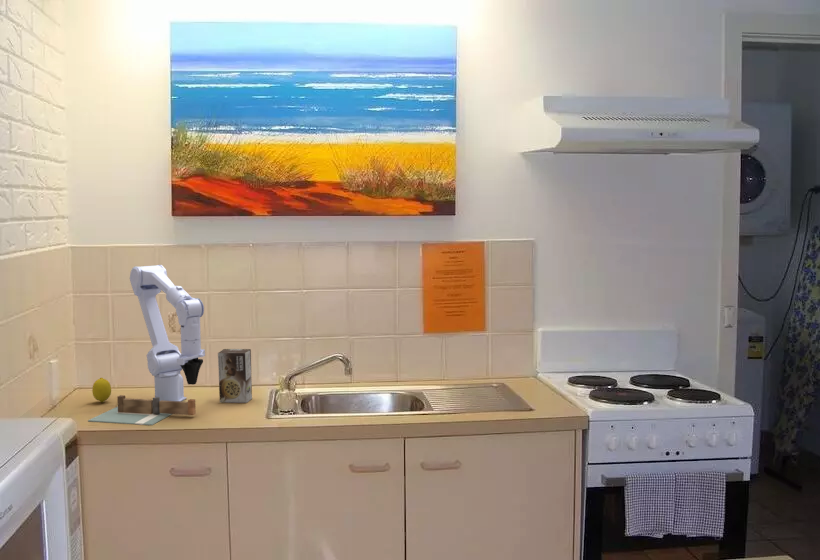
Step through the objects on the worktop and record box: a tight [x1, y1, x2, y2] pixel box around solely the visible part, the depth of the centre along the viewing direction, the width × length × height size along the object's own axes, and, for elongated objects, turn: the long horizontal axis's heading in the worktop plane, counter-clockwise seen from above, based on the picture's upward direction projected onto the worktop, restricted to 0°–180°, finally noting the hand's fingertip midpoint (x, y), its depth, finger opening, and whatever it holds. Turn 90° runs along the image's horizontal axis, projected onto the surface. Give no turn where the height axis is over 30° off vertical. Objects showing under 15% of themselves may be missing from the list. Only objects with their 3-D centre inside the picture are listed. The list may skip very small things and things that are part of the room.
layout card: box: [87, 406, 173, 426], centre depth 240 cm, size 20×20×1 cm
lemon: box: [91, 377, 112, 403], centre depth 252 cm, size 6×6×8 cm
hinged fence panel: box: [159, 398, 197, 416], centre depth 237 cm, size 11×2×4 cm, turn 79°
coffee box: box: [217, 348, 253, 404], centre depth 255 cm, size 9×6×16 cm
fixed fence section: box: [116, 394, 160, 415], centre depth 239 cm, size 13×2×5 cm, turn 79°
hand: (192, 383), depth 242 cm, fingers closed
